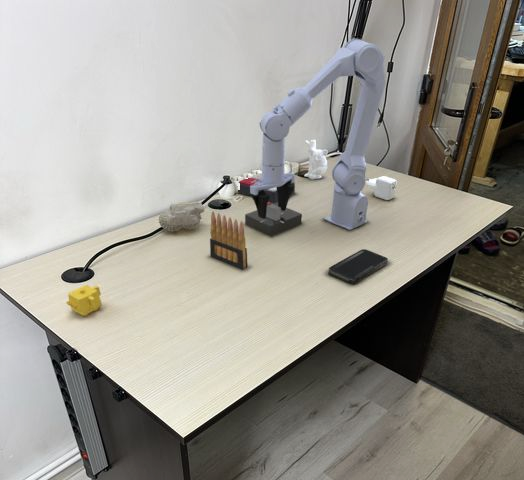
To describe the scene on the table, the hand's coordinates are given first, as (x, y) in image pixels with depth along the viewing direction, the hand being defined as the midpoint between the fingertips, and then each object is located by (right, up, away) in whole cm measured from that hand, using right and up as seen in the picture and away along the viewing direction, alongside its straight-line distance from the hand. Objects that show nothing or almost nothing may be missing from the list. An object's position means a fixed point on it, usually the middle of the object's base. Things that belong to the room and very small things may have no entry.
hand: (272, 213), depth 136 cm
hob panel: (0, -2, +5) cm, 5 cm away
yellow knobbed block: (-40, -29, -30) cm, 58 cm away
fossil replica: (-25, -4, +2) cm, 25 cm away
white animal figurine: (+15, +22, +34) cm, 43 cm away
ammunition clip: (-11, -16, -13) cm, 23 cm away
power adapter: (+34, +12, +22) cm, 42 cm away
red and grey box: (-2, +13, +23) cm, 26 cm away
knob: (0, -1, +1) cm, 1 cm away
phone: (+21, -17, -15) cm, 31 cm away
